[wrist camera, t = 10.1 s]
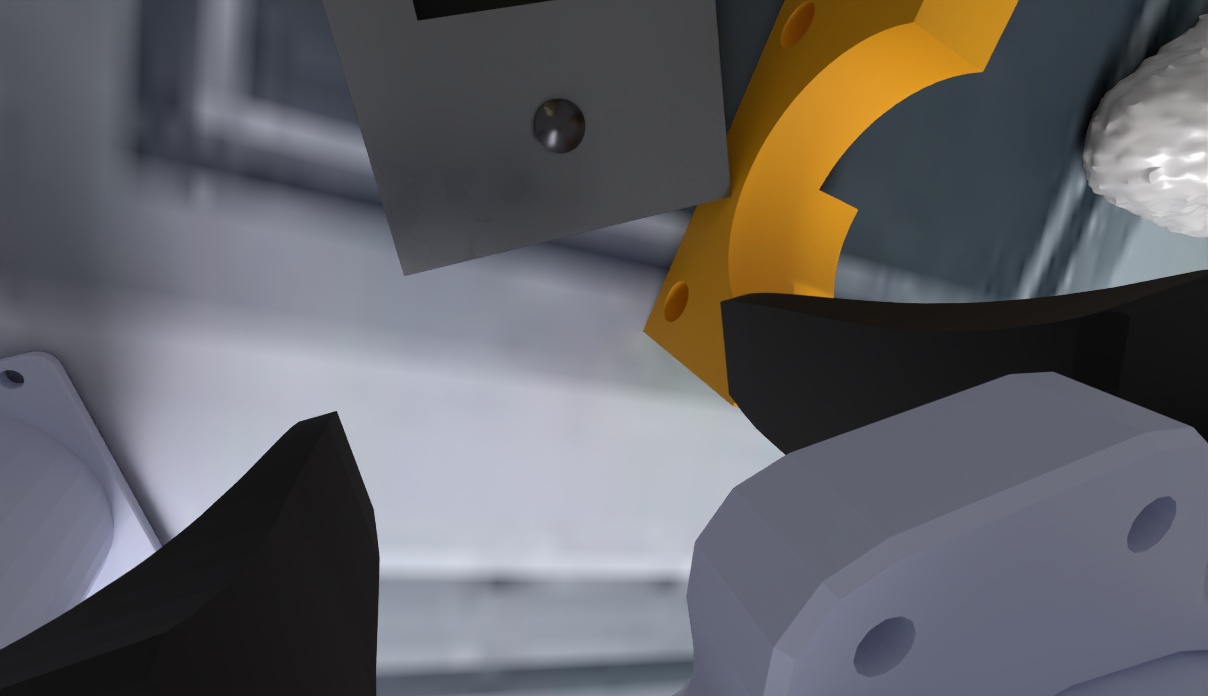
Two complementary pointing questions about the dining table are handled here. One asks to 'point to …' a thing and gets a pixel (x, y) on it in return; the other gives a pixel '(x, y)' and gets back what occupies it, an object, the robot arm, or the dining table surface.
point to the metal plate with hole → (533, 118)
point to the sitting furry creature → (1157, 137)
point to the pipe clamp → (806, 154)
